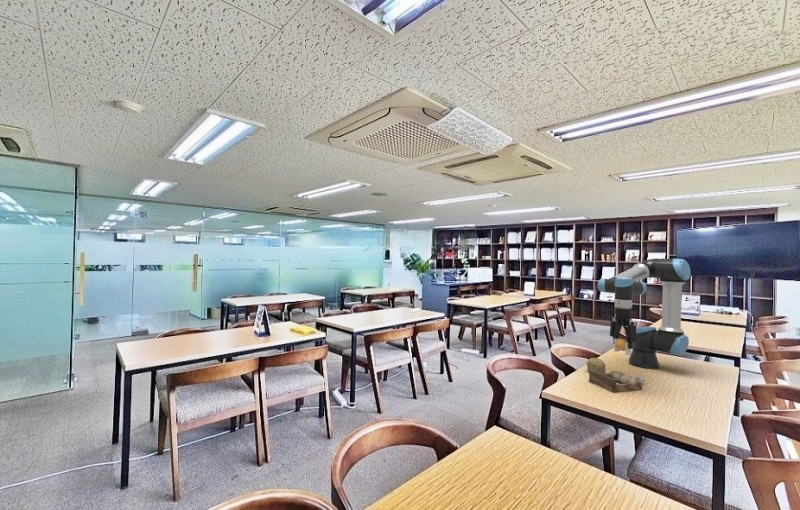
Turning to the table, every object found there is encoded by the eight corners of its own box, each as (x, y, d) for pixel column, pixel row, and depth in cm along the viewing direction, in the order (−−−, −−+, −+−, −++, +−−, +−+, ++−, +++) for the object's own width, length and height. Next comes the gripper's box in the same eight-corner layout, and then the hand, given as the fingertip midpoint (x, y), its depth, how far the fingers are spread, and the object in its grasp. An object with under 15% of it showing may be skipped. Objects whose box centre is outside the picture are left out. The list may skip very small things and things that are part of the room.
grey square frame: (637, 381, 181) (637, 376, 181) (644, 384, 178) (644, 379, 178) (632, 382, 180) (632, 377, 180) (638, 384, 177) (638, 379, 177)
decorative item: (602, 382, 191) (613, 367, 191) (588, 371, 191) (599, 356, 191) (593, 376, 200) (603, 362, 200) (579, 365, 200) (590, 352, 200)
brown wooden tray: (615, 379, 185) (615, 367, 185) (642, 389, 170) (642, 377, 170) (589, 381, 180) (589, 370, 180) (614, 392, 166) (614, 380, 166)
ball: (622, 348, 180) (622, 337, 180) (632, 351, 174) (632, 340, 174) (612, 349, 179) (612, 337, 179) (622, 352, 173) (623, 340, 173)
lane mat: (615, 379, 185) (615, 378, 185) (642, 389, 170) (642, 389, 170) (589, 381, 180) (589, 380, 180) (614, 392, 166) (614, 391, 166)
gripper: (602, 305, 185) (601, 348, 185) (634, 310, 166) (633, 358, 166) (613, 304, 187) (612, 347, 186) (646, 310, 168) (645, 358, 168)
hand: (622, 352), depth 176 cm, fingers closed on ball, 6 cm apart
